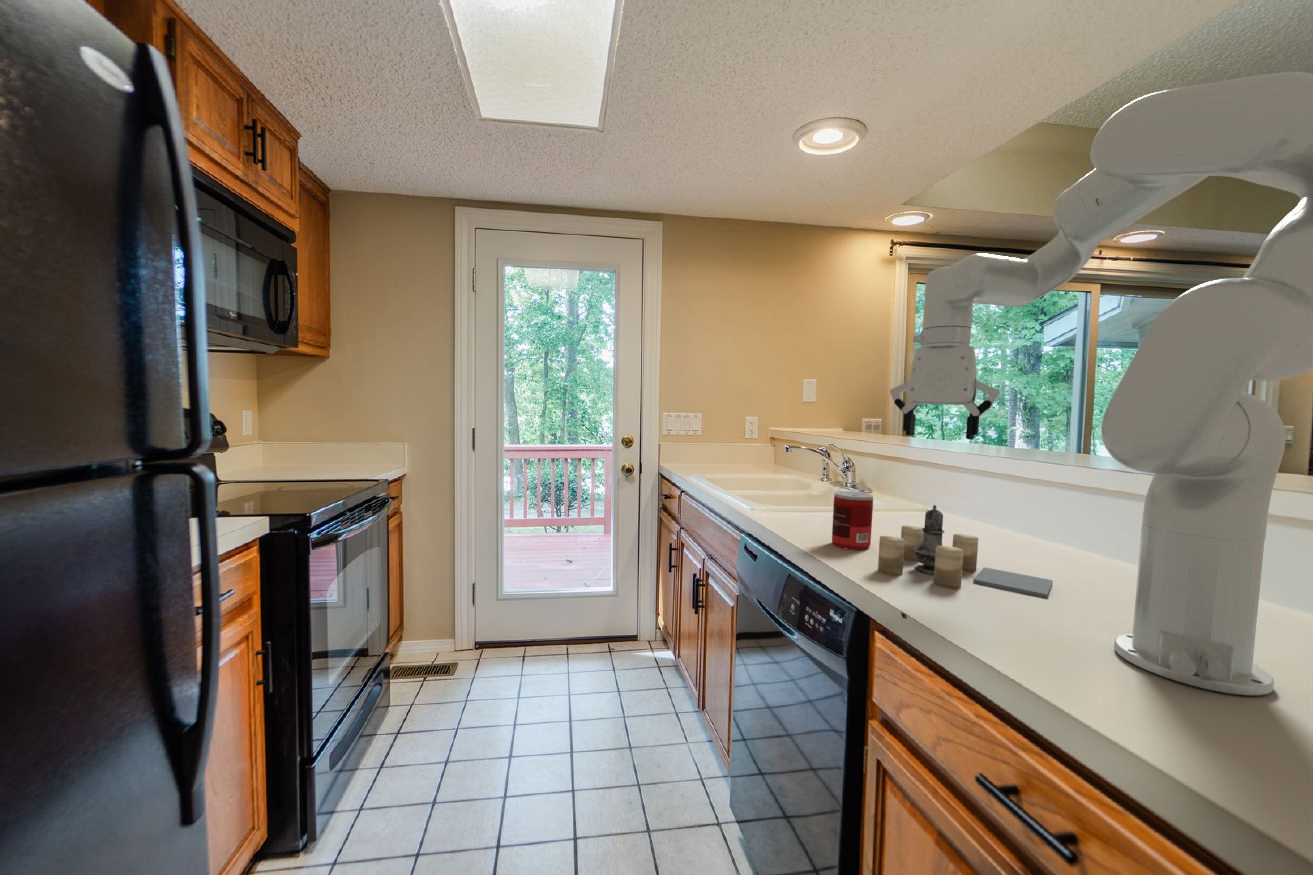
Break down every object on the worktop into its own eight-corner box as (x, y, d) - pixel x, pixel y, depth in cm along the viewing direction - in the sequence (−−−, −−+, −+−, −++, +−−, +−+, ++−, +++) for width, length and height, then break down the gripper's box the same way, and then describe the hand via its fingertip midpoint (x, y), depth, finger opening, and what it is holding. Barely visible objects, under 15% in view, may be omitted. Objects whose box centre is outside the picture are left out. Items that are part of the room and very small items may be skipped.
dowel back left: (919, 562, 99) (921, 531, 99) (897, 557, 102) (898, 527, 102) (924, 558, 102) (926, 528, 102) (903, 554, 105) (905, 524, 105)
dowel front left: (898, 577, 89) (900, 542, 89) (874, 571, 92) (876, 538, 92) (905, 572, 92) (907, 538, 92) (882, 567, 95) (883, 534, 95)
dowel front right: (958, 590, 84) (960, 553, 83) (930, 584, 86) (933, 548, 86) (963, 584, 87) (965, 549, 86) (936, 578, 89) (938, 544, 89)
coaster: (1047, 598, 81) (1047, 594, 81) (973, 582, 88) (973, 579, 88) (1052, 583, 89) (1052, 580, 89) (983, 570, 95) (984, 567, 95)
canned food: (873, 545, 112) (876, 493, 111) (866, 552, 105) (869, 498, 104) (836, 539, 116) (839, 489, 115) (827, 546, 109) (830, 494, 108)
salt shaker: (957, 574, 92) (961, 507, 92) (932, 577, 90) (937, 508, 89) (928, 564, 98) (932, 501, 97) (905, 567, 95) (909, 502, 95)
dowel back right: (973, 573, 93) (976, 540, 93) (948, 568, 96) (950, 536, 96) (978, 568, 96) (980, 536, 96) (953, 564, 99) (955, 532, 99)
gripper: (887, 340, 95) (881, 434, 96) (1000, 334, 83) (992, 441, 84) (899, 345, 100) (894, 434, 101) (1007, 340, 89) (999, 440, 90)
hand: (938, 437), depth 93 cm, fingers open, 9 cm apart
